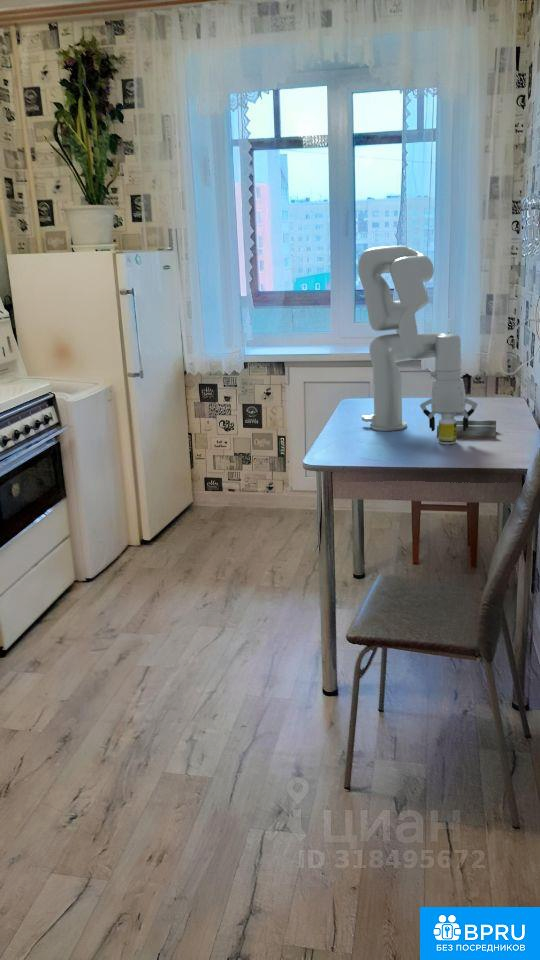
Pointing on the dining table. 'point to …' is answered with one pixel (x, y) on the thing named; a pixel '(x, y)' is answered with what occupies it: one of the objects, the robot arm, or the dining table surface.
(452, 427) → the supplement bottle
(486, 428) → the track
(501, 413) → the dining table surface
